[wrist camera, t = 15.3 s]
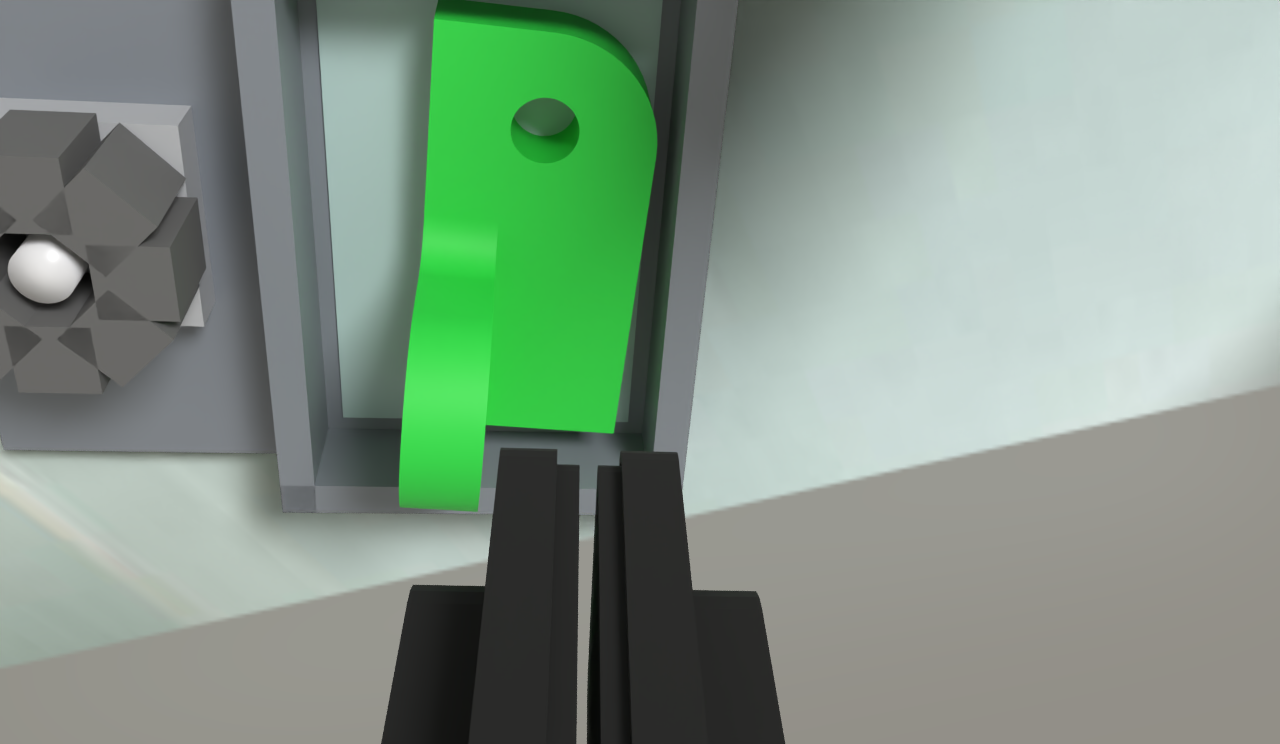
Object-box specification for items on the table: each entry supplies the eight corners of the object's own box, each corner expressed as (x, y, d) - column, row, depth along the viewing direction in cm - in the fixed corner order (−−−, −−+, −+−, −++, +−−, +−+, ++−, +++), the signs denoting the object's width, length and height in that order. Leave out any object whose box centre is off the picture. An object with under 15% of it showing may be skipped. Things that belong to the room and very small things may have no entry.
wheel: (187, 116, 31) (157, 161, 29) (214, 338, 35) (190, 395, 32) (-84, 105, 31) (-140, 150, 28) (-29, 332, 34) (-73, 390, 32)
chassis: (721, -85, 32) (752, -35, 28) (666, 441, 41) (683, 542, 37) (-119, -136, 30) (-232, -91, 26) (14, 431, 39) (-51, 538, 35)
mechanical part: (609, 397, 39) (627, 564, 32) (418, 383, 38) (395, 551, 31) (665, 23, 33) (701, 132, 26) (438, -4, 32) (415, 102, 25)
